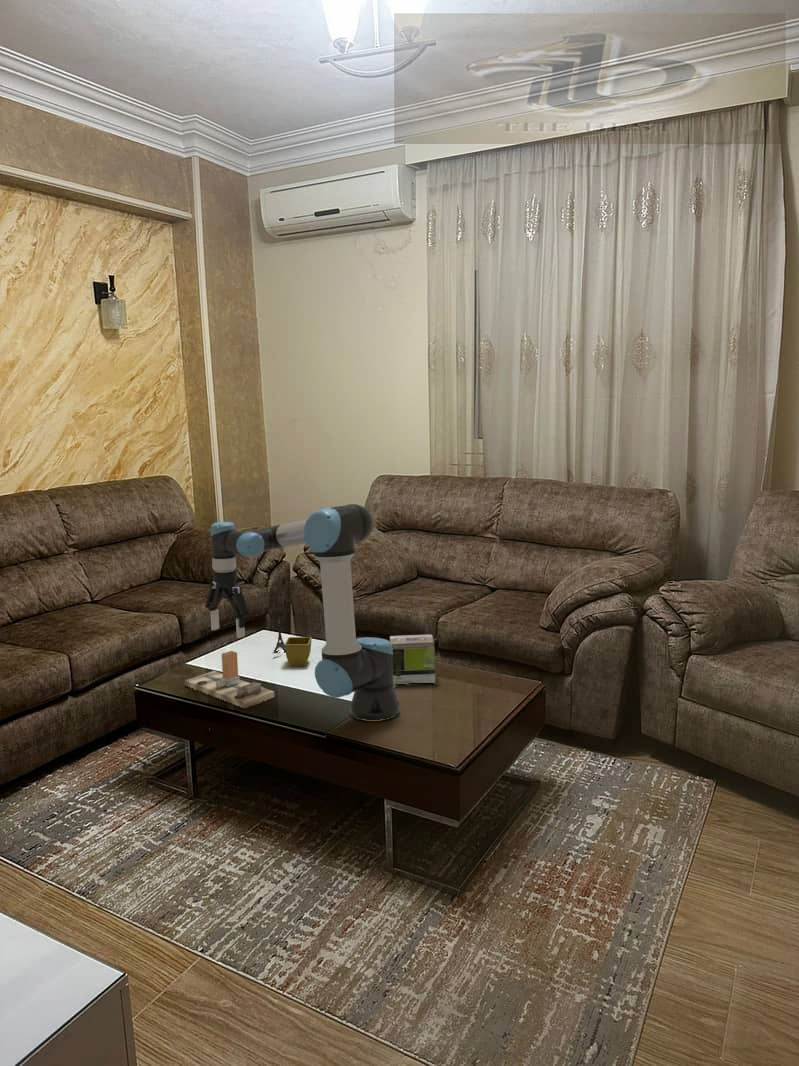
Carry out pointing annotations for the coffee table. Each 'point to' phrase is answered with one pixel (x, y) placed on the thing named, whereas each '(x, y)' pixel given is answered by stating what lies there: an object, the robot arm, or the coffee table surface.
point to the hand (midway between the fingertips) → (227, 633)
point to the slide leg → (229, 670)
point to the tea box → (413, 659)
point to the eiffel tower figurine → (280, 645)
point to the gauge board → (230, 690)
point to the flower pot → (298, 650)
